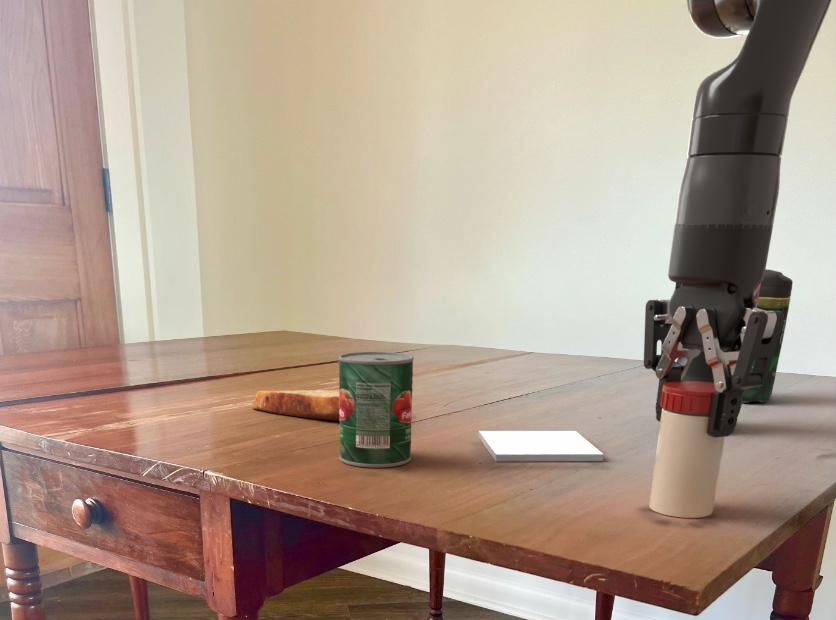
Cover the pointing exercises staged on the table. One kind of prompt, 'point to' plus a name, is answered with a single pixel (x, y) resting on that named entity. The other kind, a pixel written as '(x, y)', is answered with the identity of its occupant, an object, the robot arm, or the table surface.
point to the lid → (687, 396)
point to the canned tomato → (375, 408)
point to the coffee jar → (777, 299)
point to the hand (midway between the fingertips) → (692, 427)
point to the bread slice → (300, 403)
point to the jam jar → (685, 466)
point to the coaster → (539, 446)
